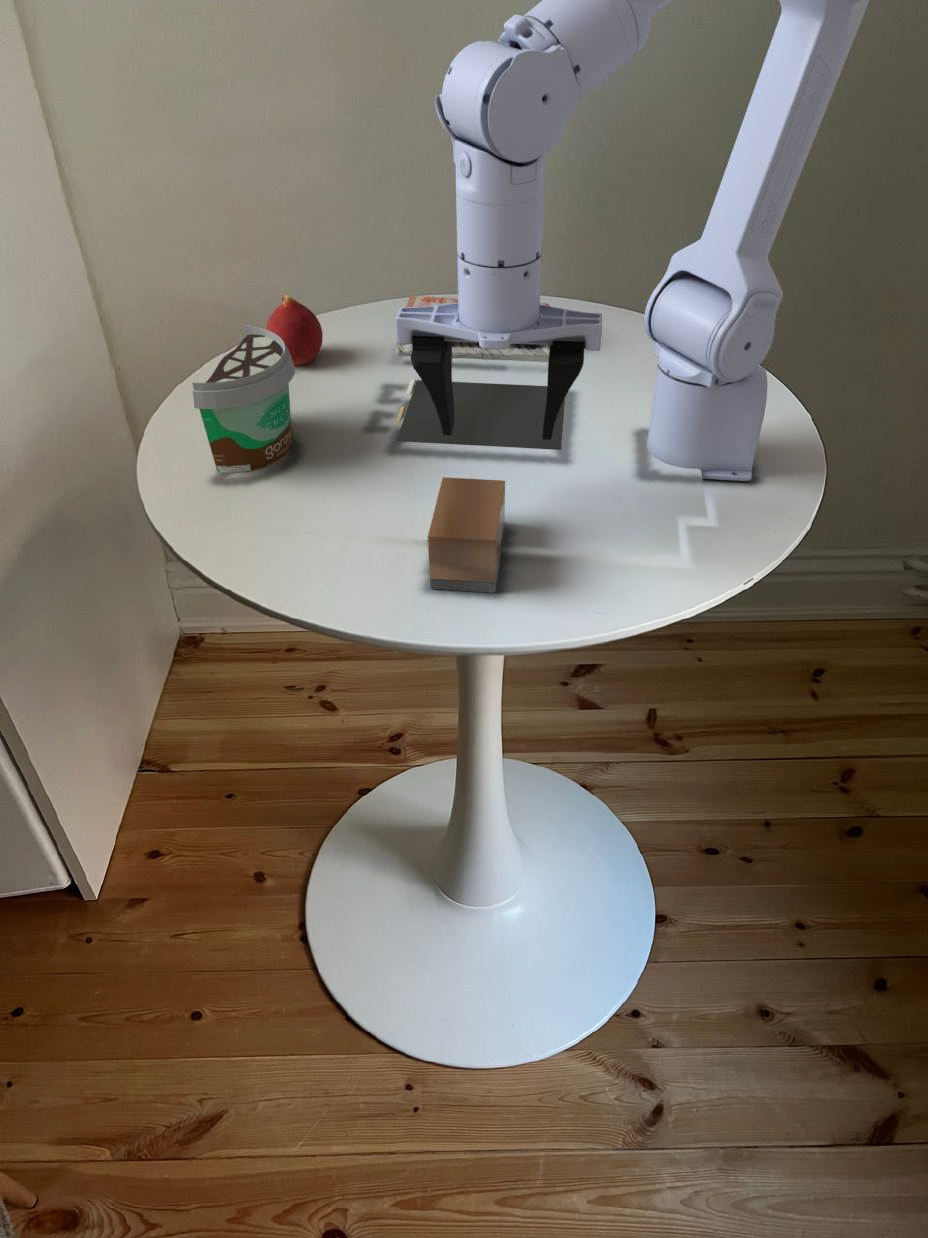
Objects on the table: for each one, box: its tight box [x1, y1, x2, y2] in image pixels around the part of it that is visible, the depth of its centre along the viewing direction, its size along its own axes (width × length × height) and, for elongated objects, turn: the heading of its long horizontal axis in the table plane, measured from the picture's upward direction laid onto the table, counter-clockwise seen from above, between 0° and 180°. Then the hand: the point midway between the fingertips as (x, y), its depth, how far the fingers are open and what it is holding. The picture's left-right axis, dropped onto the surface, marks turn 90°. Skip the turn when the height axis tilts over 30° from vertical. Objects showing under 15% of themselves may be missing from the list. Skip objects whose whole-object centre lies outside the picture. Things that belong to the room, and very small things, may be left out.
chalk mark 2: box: [405, 379, 417, 395], centre depth 93 cm, size 3×3×1 cm
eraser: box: [427, 476, 506, 594], centre depth 71 cm, size 5×8×5 cm, turn 173°
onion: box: [265, 294, 324, 367], centre depth 96 cm, size 6×6×8 cm
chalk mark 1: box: [395, 405, 406, 423], centre depth 89 cm, size 3×3×1 cm
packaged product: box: [394, 295, 551, 363], centre depth 100 cm, size 18×5×10 cm
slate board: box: [395, 379, 566, 451], centre depth 89 cm, size 16×13×1 cm
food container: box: [192, 325, 296, 474], centre depth 82 cm, size 12×6×10 cm, turn 168°
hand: (497, 430), depth 71 cm, fingers open, 7 cm apart
